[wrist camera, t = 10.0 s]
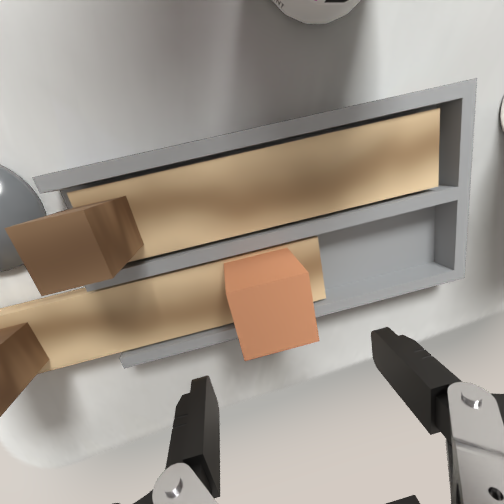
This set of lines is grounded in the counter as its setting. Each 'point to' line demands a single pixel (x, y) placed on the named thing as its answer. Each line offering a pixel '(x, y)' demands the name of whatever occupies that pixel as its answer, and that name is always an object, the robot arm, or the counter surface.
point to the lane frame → (324, 226)
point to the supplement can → (316, 9)
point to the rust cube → (270, 303)
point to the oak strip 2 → (123, 317)
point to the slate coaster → (15, 213)
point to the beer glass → (502, 115)
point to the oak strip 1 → (227, 199)
